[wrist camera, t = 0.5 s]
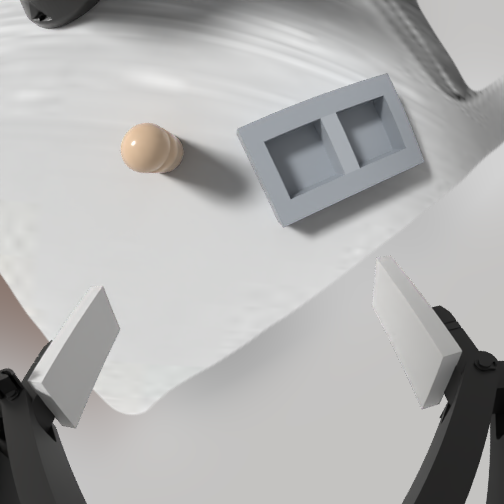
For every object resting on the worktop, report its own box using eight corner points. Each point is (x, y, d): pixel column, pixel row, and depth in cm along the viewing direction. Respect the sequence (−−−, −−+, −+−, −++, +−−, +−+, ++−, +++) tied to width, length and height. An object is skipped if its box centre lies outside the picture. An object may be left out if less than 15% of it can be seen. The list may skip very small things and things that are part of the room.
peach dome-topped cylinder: (138, 145, 36) (105, 136, 26) (173, 126, 36) (151, 109, 25) (154, 179, 37) (126, 182, 27) (190, 161, 37) (173, 156, 27)
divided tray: (236, 134, 37) (237, 129, 32) (372, 81, 36) (387, 73, 31) (278, 221, 40) (283, 227, 35) (407, 162, 39) (424, 161, 34)
